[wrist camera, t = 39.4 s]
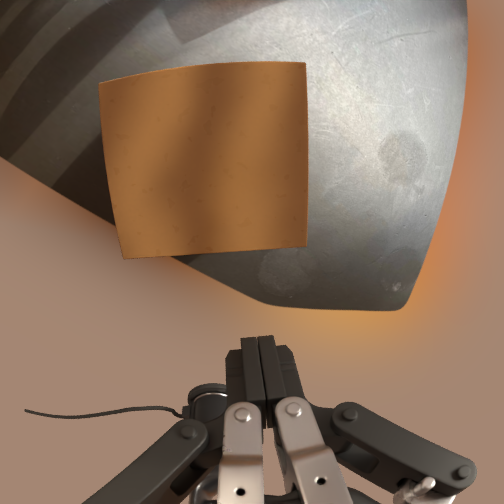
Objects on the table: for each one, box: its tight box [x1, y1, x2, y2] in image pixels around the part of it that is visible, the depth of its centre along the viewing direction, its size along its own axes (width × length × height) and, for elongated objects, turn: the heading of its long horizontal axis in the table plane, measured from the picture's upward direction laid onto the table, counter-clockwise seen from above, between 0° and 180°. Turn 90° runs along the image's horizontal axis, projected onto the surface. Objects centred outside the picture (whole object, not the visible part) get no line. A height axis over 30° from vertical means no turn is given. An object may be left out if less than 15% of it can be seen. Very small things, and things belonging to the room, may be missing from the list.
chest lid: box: [98, 61, 308, 259], centre depth 25 cm, size 18×18×1 cm
